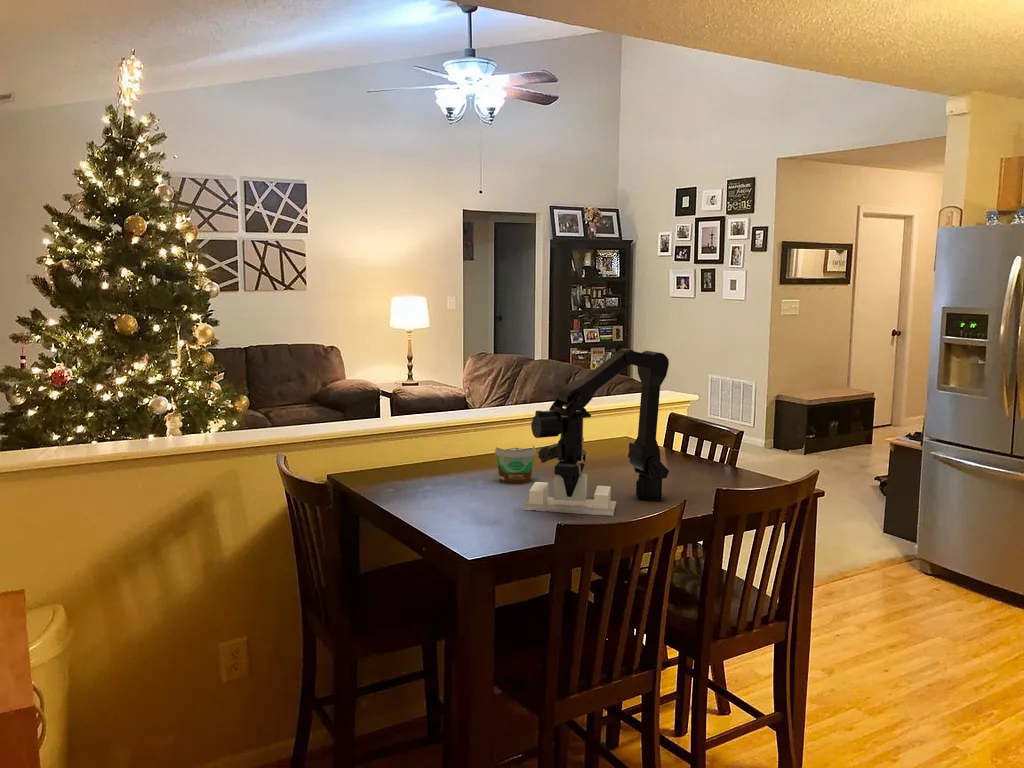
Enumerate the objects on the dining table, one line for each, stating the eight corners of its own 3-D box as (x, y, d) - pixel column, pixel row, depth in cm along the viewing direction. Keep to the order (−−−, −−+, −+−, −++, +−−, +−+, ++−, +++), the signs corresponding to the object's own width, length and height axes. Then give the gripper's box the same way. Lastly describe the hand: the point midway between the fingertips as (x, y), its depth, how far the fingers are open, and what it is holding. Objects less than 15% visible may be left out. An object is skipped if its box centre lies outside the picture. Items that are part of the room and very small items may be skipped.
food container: (499, 486, 236) (499, 451, 234) (494, 480, 242) (494, 447, 240) (541, 483, 239) (541, 449, 238) (534, 478, 245) (535, 445, 243)
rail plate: (616, 504, 218) (616, 498, 218) (613, 515, 208) (613, 509, 208) (529, 499, 223) (529, 493, 222) (523, 509, 213) (523, 503, 213)
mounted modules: (610, 501, 218) (610, 486, 217) (607, 511, 209) (608, 495, 209) (535, 496, 222) (535, 481, 221) (529, 505, 213) (529, 490, 212)
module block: (556, 494, 218) (556, 472, 217) (586, 496, 217) (587, 474, 216) (553, 499, 214) (554, 476, 213) (584, 501, 212) (585, 478, 211)
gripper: (546, 426, 223) (545, 483, 226) (534, 440, 205) (533, 502, 208) (587, 428, 221) (586, 485, 224) (579, 443, 203) (578, 505, 205)
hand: (570, 494), depth 215 cm, fingers closed on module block, 4 cm apart
